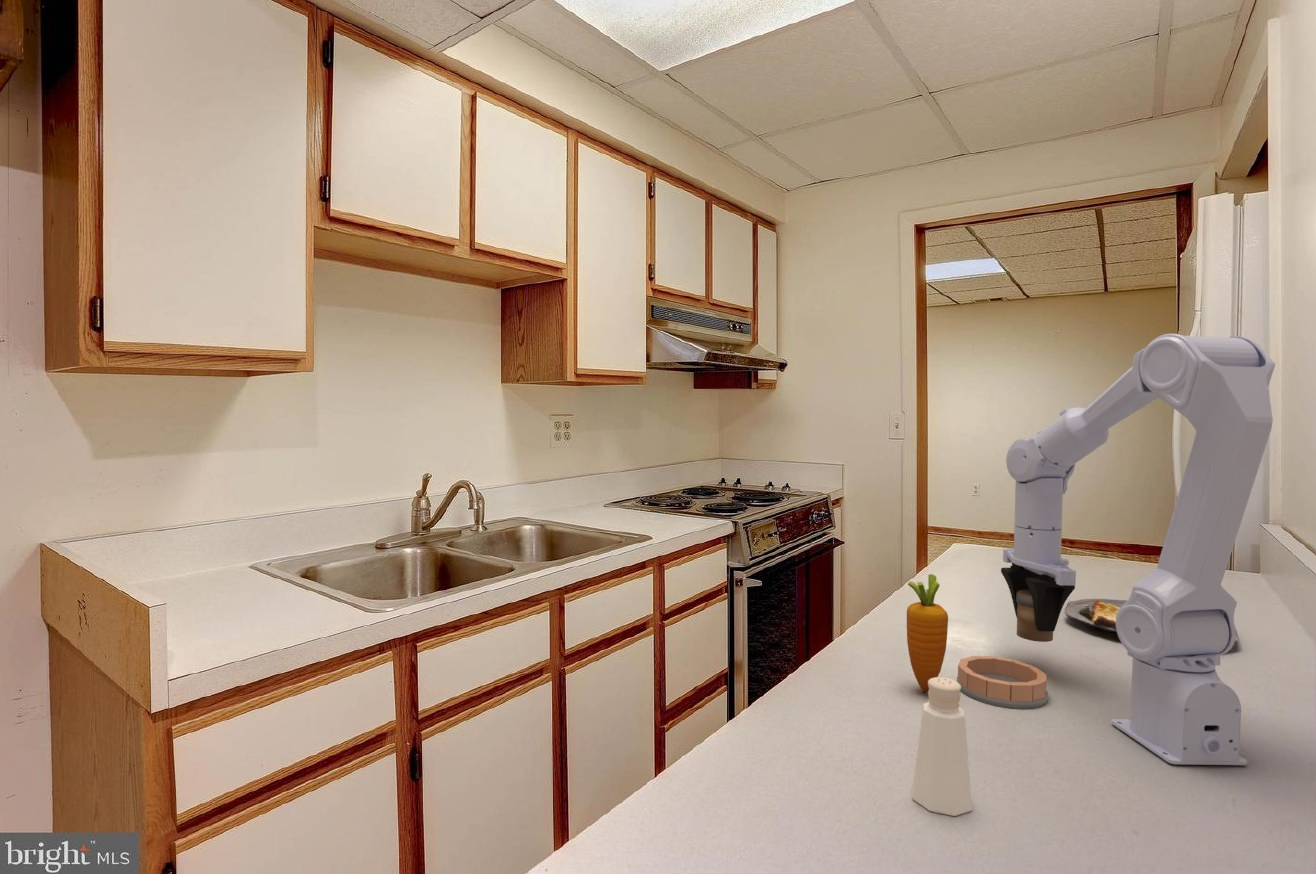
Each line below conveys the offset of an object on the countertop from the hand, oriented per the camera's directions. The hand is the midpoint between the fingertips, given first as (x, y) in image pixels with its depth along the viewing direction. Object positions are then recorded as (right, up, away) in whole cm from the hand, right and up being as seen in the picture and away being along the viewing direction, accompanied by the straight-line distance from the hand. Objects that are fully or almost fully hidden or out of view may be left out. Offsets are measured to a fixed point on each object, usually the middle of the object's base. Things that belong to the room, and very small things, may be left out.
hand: (1034, 624), depth 95 cm
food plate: (+30, -7, +20) cm, 37 cm away
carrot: (-18, -7, -7) cm, 21 cm away
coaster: (-8, -7, -7) cm, 12 cm away
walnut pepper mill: (0, -2, 0) cm, 2 cm away
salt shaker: (-26, -8, -32) cm, 42 cm away
